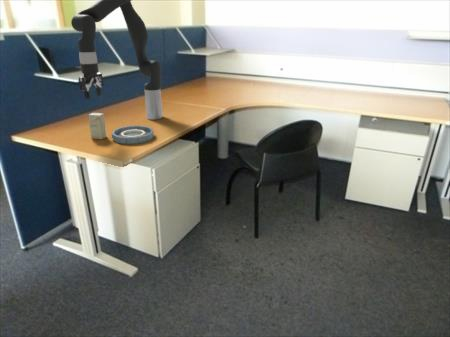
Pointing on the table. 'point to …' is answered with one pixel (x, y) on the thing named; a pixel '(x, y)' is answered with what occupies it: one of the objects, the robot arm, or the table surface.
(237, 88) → the table surface
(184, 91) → the table surface
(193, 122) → the table surface
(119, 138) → the ring tray
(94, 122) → the skincare box
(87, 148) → the table surface
